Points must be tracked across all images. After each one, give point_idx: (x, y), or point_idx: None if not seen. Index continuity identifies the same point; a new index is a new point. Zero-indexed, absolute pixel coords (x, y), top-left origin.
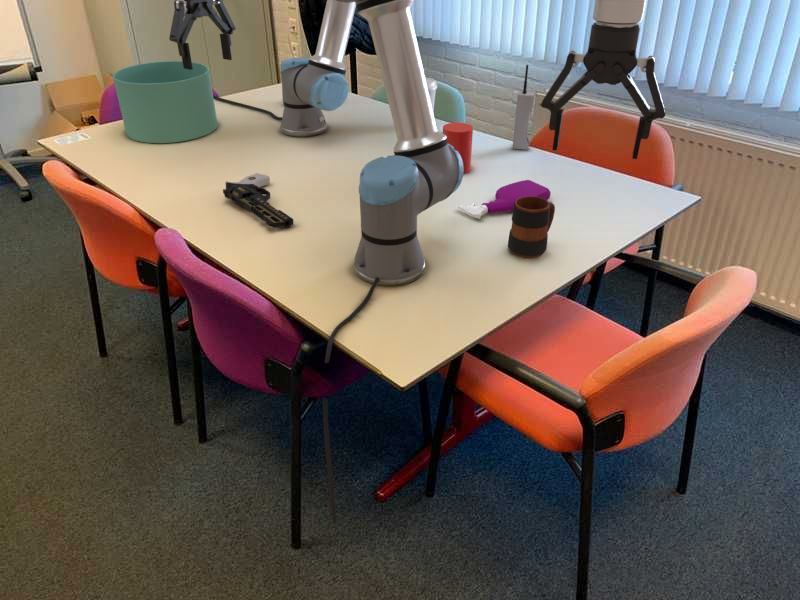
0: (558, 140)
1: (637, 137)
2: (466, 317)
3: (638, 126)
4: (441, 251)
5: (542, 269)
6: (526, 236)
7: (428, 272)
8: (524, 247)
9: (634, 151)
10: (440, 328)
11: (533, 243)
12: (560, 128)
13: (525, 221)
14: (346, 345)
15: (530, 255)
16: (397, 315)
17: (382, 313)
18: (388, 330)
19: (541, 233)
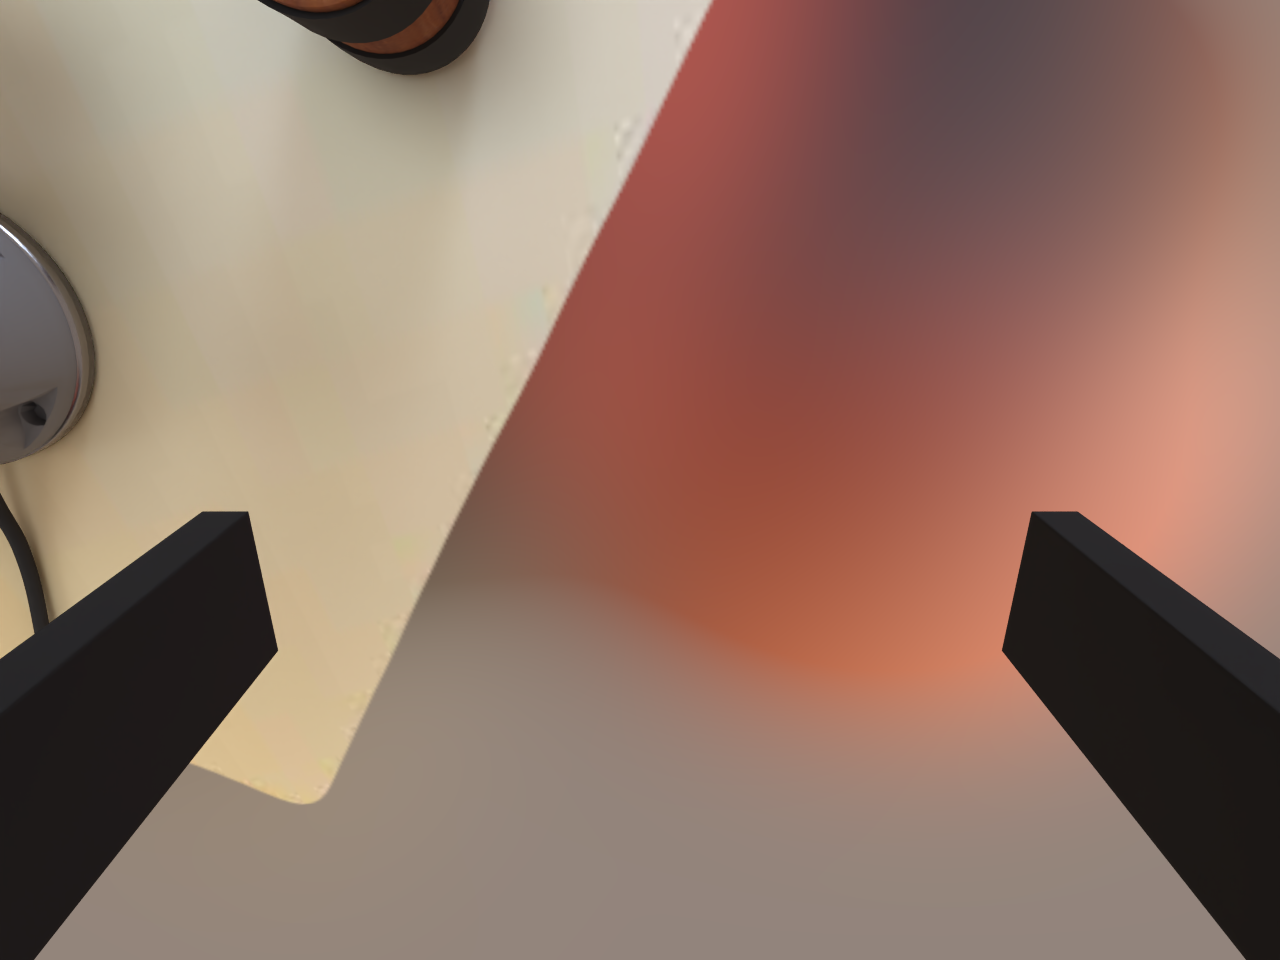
0: (220, 646)
1: (1143, 821)
2: (349, 539)
3: (1256, 806)
4: (57, 113)
5: (510, 137)
6: (375, 47)
7: (104, 310)
8: (393, 67)
9: (1045, 696)
10: (302, 608)
11: (424, 52)
12: (124, 671)
13: (329, 31)
14: None
15: (435, 68)
16: None
17: None
18: None
19: (439, 5)
